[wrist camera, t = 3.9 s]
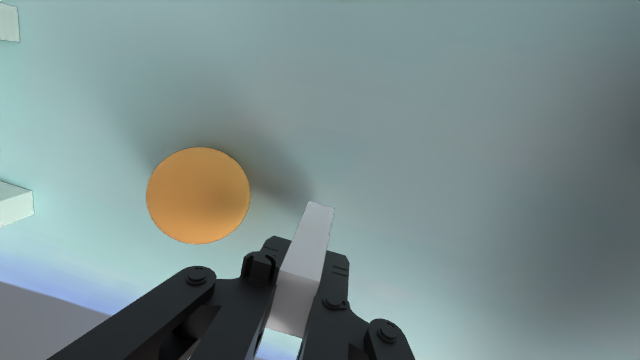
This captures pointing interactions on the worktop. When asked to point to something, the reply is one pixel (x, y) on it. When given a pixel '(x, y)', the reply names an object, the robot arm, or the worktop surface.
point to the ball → (198, 195)
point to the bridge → (3, 199)
